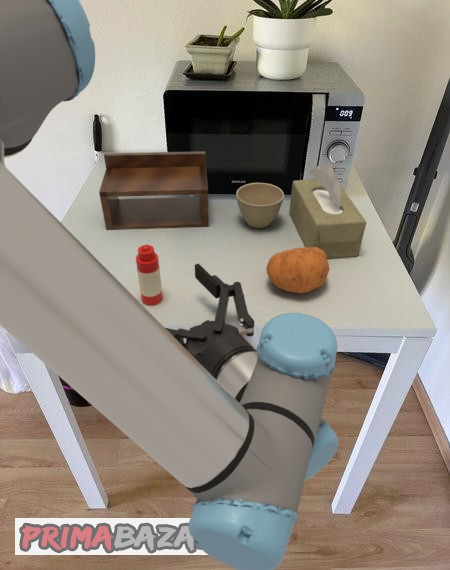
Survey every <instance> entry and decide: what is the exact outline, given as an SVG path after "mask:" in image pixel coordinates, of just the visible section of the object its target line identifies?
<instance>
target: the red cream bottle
mask: <svg viewBox="0 0 450 570" xmlns="http://www.w3.org/2000/svg"><path fill="white" fill-rule="evenodd" d="M159 261H160V260H159V255H158V253H157V252H155V248H154V246H153V245H150V244H143V245H140V246H139V247H137V255H136V256H135V263H136V271H137V277H138V279H137V280H138V286H139V291H140V296H141V301H142V303H143V304H144V305H146V306H156V305H158V304H160V303H161V302H162V300H163V286H162V278H161V269H160V262H159Z"/></svg>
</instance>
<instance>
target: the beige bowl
mask: <svg viewBox="0 0 450 570" xmlns="http://www.w3.org/2000/svg"><path fill="white" fill-rule="evenodd" d="M235 193H236V194H235V196H236V202H237V206H238V210H239V212H240V214H241V216H242V218H243V219H244V221H245V223H246V224H247V225H248V226H249V227H251V228H253V229H265V228H267V227H269V226H270V224H271V223H273V221H274V220H275V219H276V217H277V215H278V214H279V212H280V209H281V207H282V204H283V202H284V197H285V193H284V192H283V190H282V189H281V188H280V187H278V186H276V185H274V184H272V183H266V182H251V183H247V184H244V185H242V186H240V187H239V188H237V190H236V192H235Z"/></svg>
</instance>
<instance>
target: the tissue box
mask: <svg viewBox="0 0 450 570" xmlns="http://www.w3.org/2000/svg"><path fill="white" fill-rule="evenodd" d="M308 172H309V173H310V175H311V176H312V177H313V179H301V180H299V179H298V180H293V181H292V185H291V193H290V203H289V211H288V213H289V215H290V217H291V219H292V221H293V224H294V225H295V227H296V230H297V232H298V234H299V236H300V238H301V240H302V242H303V245H304V247H317V248H319V249H321V250H323V251H324V252H325V254H326V257H327V259H334V258H347V257H349V258H350V257H358V256H359V253H360V251H361V246H362V242H363V238H364V235H365V231H366V227H367V220H366V218H365V217H364V216H363V215H362V213H361V212H360V211H359V209H358V208H357V206H356V205H355V204H354V202H353V200H351V198H350V197H349V195H348V194H347V192H346V191H345V189H344V188H343V186H341V184H340V182H339V180H338V178H337V176H336V175H335V174H336V173H335V171H334V167H333V166H332V164H331V163H330V162H326V163H325V164H322V165H321V166H320V165H317V166H315V167H314V168H312V169H308Z"/></svg>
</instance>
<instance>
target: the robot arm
mask: <svg viewBox="0 0 450 570" xmlns="http://www.w3.org/2000/svg"><path fill="white" fill-rule="evenodd" d="M90 27H91V24H90V21H89V19H88V16H87V14H86V12H85V9H84V6H83V5H82V3H81V1H80V0H0V326H1V327H2V328H3V329H4V330H5V331H7V332H8V333H9V334H10V335H11V336H12V337H14V339H16V341H18V342H19V343H20V344H21V345H23V347H25V348H26V349H27V350H28V351H30V352H31V353H32V354H33V355H34V356H35V357H36V358H37V359H38V360H40V361H41V362H42V364H44V365H45V366H46V367H48V368H49V369H50V370H51V371H52V372H54V373H55V375H57V376H58V377H60V379H62V380H63V381H64V382H65V383H66V384H67V385H69V387H70V388H72V389H73V390H74V391H75V392H76V393H78V394H79V395H80V396H81V397H82V398H83V399H85V401H87V402H88V403H89V404H90V405H91V406H92V407H93V408H95V409H96V410H97V411H98V412H99V413H100V414H101V415H103V416H104V417H105V418H106V419H107V420H108V421H110V422H111V423H112V424H113V425H114V426H115V427H117V428H118V429H119V430H120V431H121V432H122V433H123V434H124V435H125V436H127V437H128V438H129V439H130V440H131V441H132V442H134V444H136V445H137V446H138V447H139V448H140V449H142V450H143V451H144V452H145V453H146V454H147V455H148V456H149V457H151V458H152V459H153V460H154V461H155V462H156V463H157V464H159V465H160V466H161V467H162V468H163V469H164V470H165V471H167V472H168V473H169V474H170V475H171V476H172V477H174V478H175V479H176V480H177V481H178V482H179V483H180V484H181V485H182V486H183V487H184V488H186V490H188V491H189V493H191V494H192V496H193V497H194V498H196V501H195V502H194V503H193V505H192V507H191V509H192V513H191V515H190V518H189V521H188V532H189V535H190V536H191V538H192V539H193V540H194V542H195V544H196V546H197V547H198V548H199V549H200V550H202V552H204V554H206V555H208V556H209V557H211V558H212V559H214V560H216V561H218V562H219V563H221V564H223V565H225V566H227V567H230V568H231V569H235V570H275V569H277V568H278V567H279V566H280V565H281V564H282V561H283V559H284V557H285V555H286V554H285V553H286V551H287V548H288V545H289V542H290V539H291V537H292V533H293V530H294V527H295V524H296V523H297V520H298V517H299V516H298V515H299V514H298V511H299V507H300V503H301V498H302V494H303V490H304V486H305V483H306V482H305V481H308V480H309V479H311V478H312V477H314V476H315V475H317V474H318V473H319V472H320V471H321V470H323V469H324V467H326V466H327V464H328V463H329V462H330V461H331V459H332V458H333V457H334V455H335V454H336V452H337V450H338V447H339V437H338V435H337V433H336V432H335V430H334V429H333V428H332V427H331V425H330V423H329V422H328V421H327V420H326V421H325V420H324V419H323V418H322V416H323V412H324V407H325V403H326V399H327V395H328V391H329V387H330V384H331V379H332V377H333V373H334V371H335V367H336V364H337V359H336V357H337V353H338V340H337V338H336V335H335V333H334V331H333V329H332V328H330V326H329V325H328V324H327V323H326V322H324V321H323V320H321V319H320V318H318V317H316V316H314V315H309V314H304V313H302V312H286V313H282V314H279V315H276V316H274V317H272V318H271V319H270V320H268V321H267V322H266V323H265V324H264V326H263V327H262V329H261V332H260V336H259V342H258V343H257V346H256V348H255V347H253V345H252V344H251V343H250V342H249V341H248V340H247V339H246V338H245V337H244V335H245V336H247V337H253V336H254V334H255V323H256V322H255V320H254V319H253V317H252V316H251V315H250V314H249V311H248V307H247V303H246V302H247V301H246V299H245V295H244V290H243V287H242V283H241V282H240V281H234V282H233V284H228V283H225V282H224V281H223V280H222V279H221V278H220V277H219V276H218V275H216V274H213V275H211V274H210V272H208V270H206V269H205V268H204V267H203V266H202V265H201V264H200V263H196V264H194V278H195V279H196V280H197V281H198V282H199V283H200V284H201V285H202V286H203V287H204V288H205V289H206V290H207V291H208V292H209V293H210V294H211V295H212V296H213V298H215V300H217V299H218V303H217V309H216V312H215V317H214V320H209V319H207V320H204V321H202V323H200V324H198V325H194V326H192V327H190V328H189V329H185V328H178V329H173V328H170V327H169V328H168V327H165V326H164V325H163V324H162V323H161V322H160V321H159V320H158V318H156V317H155V316H154V315H153V314H152V313H151V312H150V311H149V310H148V309H147V308H146V307H145V305H143V304H142V303H141V302H140V301H139V300H138V299H137V298H136V297H135V296H134V295H133V294H132V293H131V292H130V291H129V290H128V289H127V287H125V286H124V285H123V284H122V282H120V281H119V280H118V279H117V278H116V276H114V275H113V274H112V273H111V271H109V269H107V268H106V267H105V266H104V265H103V264H102V263H101V262H100V261H99V259H98V258H97V257H96V256H94V255H93V253H92V252H90V250H88V248H87V247H86V246H84V244H83V243H82V242H80V240H78V238H76V237H75V235H74V234H73V233H72V232H71V231H70V230H68V228H67V227H66V226H64V224H63V223H62V222H61V221H60V220H59V219H58V218H57V217H56V216H55V215H54V214H53V213H52V212H51V211H50V210H49V209H48V208H47V207H46V206H45V205H44V204H43V203H42V202H41V201H40V200H39V199H38V198H37V197H36V196H35V195H34V194H33V192H31V191H30V190H29V189H28V188H27V187H26V186H25V185H24V184H23V183H22V182H21V181H20V179H18V178H17V177H16V176H15V175H14V174H13V173H12V171H10V170H9V168H7V166H6V163H5V159H6V158H11V157H13V156H17V155H18V154H19V153H22V152H23V151H24V150H25V149H26V148H27V147H28V146H29V145H30V144H31V142H32V140H33V139H34V137H35V136H36V134H37V133H38V131H39V130H40V128H41V127H42V125H43V124H44V122H45V120H46V119H47V118H48V116H49V114H50V113H51V111H53V109H55V107H57V105H59V104H61V103H62V102H70V101H72V100H74V99H75V98H76V97H79V95H80V93H82V92H83V91H84V90H85V89H86V88H87V87H88V85H89V84H90V82H91V80H92V78H93V75H94V71H95V68H96V67H95V66H96V46H95V41H94V39H93V38H92V35H91V29H90ZM231 297H233V302H234V307H235V312H236V317H237V320H238V321H237V327H236V326H234V325H231V324H228V323H226V318H227V314H228V313H227V312H228V307H229V306H228V305H229V302H230V298H231Z"/></svg>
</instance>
